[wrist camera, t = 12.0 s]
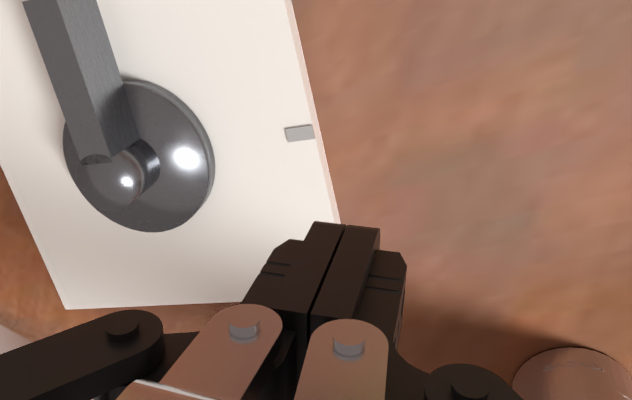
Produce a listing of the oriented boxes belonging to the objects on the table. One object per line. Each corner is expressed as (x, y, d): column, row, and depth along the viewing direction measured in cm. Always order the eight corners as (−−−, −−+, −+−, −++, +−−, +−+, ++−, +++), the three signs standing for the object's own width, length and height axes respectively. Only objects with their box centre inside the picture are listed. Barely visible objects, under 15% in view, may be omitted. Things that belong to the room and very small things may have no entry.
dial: (232, 219, 46) (203, 254, 42) (103, 227, 50) (63, 261, 45) (164, -28, 39) (121, -20, 34) (20, 2, 43) (-38, 14, 38)
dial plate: (354, 286, 48) (350, 298, 47) (75, 300, 57) (64, 310, 55) (272, -83, 38) (264, -83, 36) (-56, 3, 46) (-74, 6, 45)
